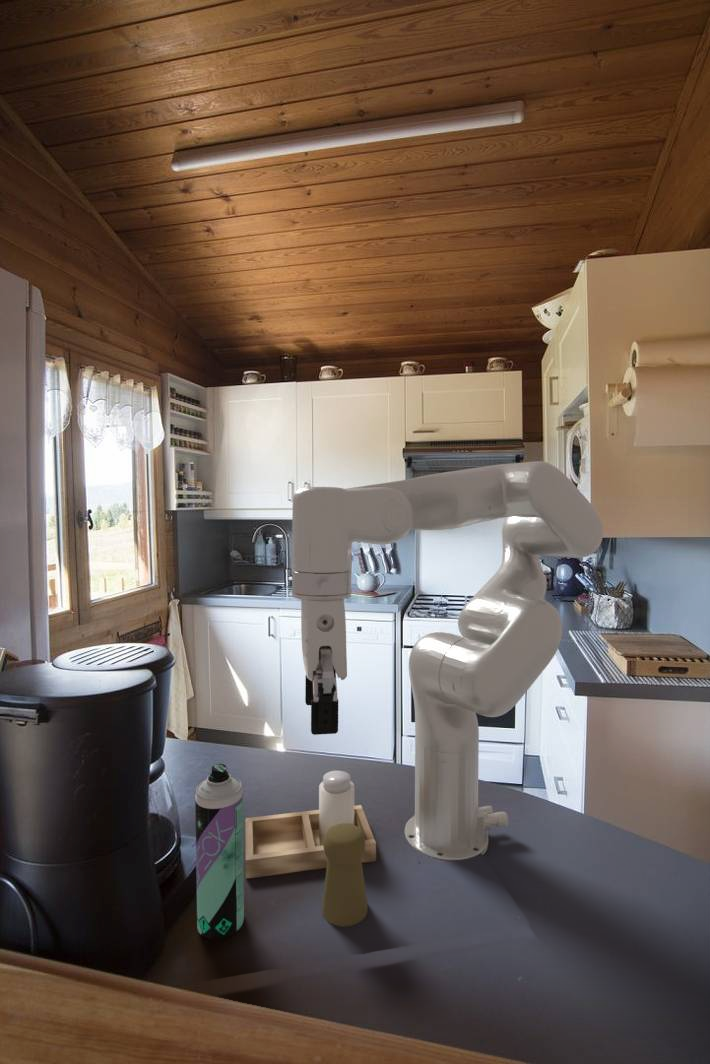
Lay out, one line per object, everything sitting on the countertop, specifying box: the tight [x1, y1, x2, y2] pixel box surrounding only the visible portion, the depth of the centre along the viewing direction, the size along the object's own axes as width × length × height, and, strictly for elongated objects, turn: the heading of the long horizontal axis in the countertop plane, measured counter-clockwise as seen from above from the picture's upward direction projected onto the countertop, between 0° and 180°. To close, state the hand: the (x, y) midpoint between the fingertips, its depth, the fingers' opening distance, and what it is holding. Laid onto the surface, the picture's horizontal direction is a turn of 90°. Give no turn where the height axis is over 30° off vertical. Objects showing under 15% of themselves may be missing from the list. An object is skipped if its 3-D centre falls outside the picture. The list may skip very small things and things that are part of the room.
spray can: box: [194, 763, 245, 940], centre depth 65 cm, size 6×6×20 cm
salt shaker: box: [318, 770, 355, 846], centre depth 80 cm, size 5×5×10 cm
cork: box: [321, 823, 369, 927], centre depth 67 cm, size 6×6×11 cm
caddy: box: [245, 804, 377, 879], centre depth 79 cm, size 18×10×4 cm, turn 102°
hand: (320, 717), depth 69 cm, fingers open, 9 cm apart
